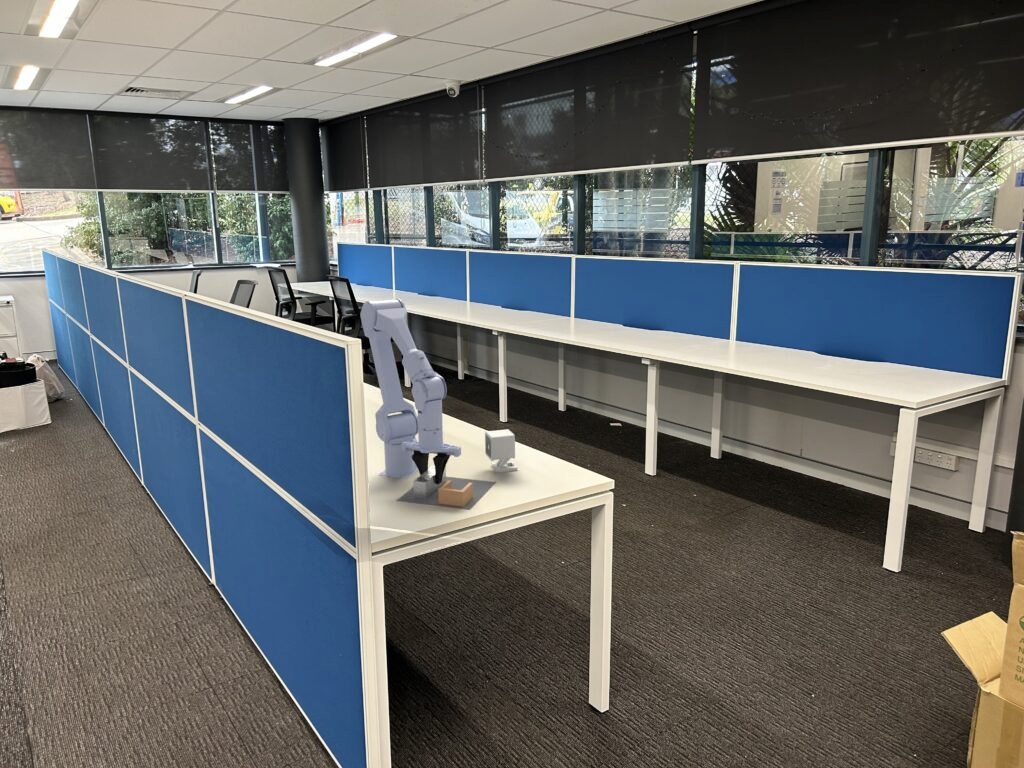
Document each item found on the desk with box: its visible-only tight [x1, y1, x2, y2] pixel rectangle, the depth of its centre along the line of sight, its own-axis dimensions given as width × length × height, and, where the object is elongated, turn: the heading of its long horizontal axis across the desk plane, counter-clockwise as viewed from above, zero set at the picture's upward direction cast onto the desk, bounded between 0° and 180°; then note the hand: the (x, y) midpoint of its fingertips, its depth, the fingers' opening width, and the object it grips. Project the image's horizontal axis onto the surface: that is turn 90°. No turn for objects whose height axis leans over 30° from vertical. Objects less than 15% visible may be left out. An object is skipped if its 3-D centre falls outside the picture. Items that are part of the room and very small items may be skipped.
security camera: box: [484, 428, 518, 473], centre depth 189 cm, size 6×7×10 cm
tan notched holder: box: [438, 480, 473, 507], centre depth 169 cm, size 6×6×4 cm
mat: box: [396, 476, 497, 511], centre depth 175 cm, size 18×18×1 cm
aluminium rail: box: [412, 464, 447, 499], centre depth 176 cm, size 12×3×4 cm, turn 162°
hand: (432, 482), depth 177 cm, fingers closed on aluminium rail, 3 cm apart
